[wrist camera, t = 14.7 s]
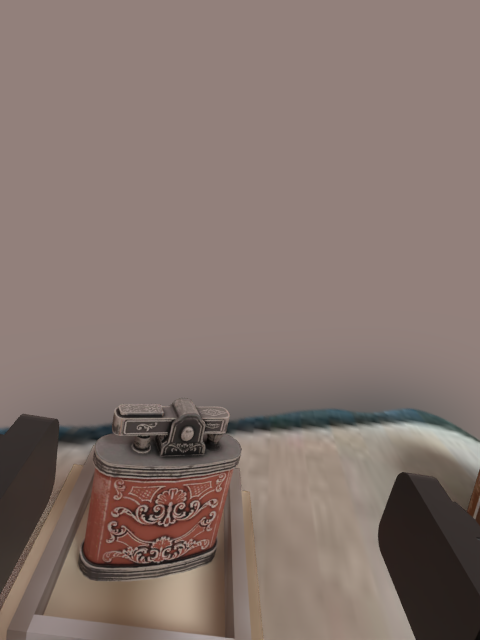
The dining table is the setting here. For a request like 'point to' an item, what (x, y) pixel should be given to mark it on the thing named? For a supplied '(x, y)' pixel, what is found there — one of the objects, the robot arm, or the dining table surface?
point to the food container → (475, 501)
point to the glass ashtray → (133, 583)
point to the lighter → (158, 491)
